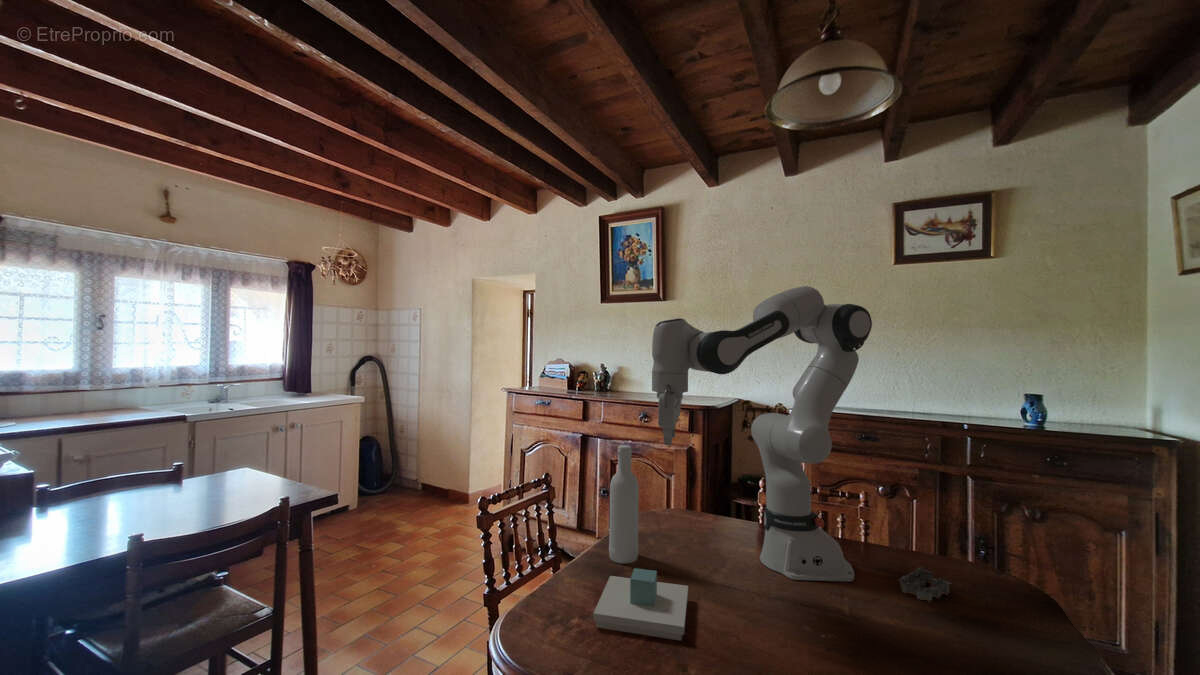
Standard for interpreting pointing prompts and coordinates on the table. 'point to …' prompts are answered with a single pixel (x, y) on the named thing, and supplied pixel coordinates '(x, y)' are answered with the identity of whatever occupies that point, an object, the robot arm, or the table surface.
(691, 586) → the table surface
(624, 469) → the bottle
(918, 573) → the grey jagged ring
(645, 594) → the teal block
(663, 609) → the cream wooden base
